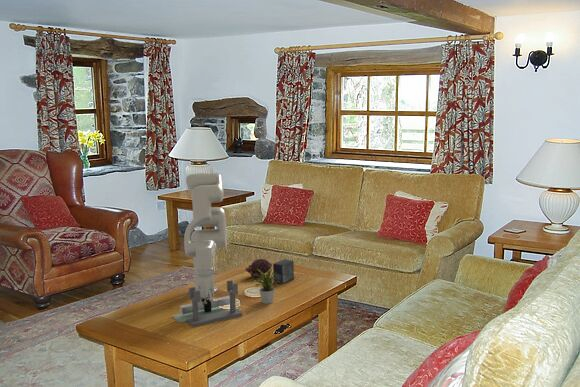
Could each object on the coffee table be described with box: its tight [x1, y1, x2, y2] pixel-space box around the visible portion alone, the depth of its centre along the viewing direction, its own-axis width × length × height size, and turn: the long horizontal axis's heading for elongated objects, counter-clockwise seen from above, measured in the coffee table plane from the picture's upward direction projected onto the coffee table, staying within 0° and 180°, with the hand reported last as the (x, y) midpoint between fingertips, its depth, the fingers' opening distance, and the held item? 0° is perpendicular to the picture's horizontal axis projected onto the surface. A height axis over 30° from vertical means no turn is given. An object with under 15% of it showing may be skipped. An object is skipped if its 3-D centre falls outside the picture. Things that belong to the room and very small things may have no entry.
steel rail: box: [179, 295, 230, 314], centre depth 274 cm, size 3×24×3 cm, turn 122°
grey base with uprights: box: [186, 279, 243, 328], centre depth 266 cm, size 6×24×16 cm, turn 122°
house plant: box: [251, 267, 279, 305], centre depth 288 cm, size 14×14×16 cm
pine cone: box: [245, 258, 273, 279], centre depth 327 cm, size 18×10×10 cm, turn 133°
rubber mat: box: [171, 306, 240, 324], centre depth 275 cm, size 9×29×1 cm, turn 122°
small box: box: [272, 258, 295, 285], centre depth 319 cm, size 11×6×10 cm, turn 144°
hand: (206, 310), depth 274 cm, fingers closed on steel rail, 3 cm apart
